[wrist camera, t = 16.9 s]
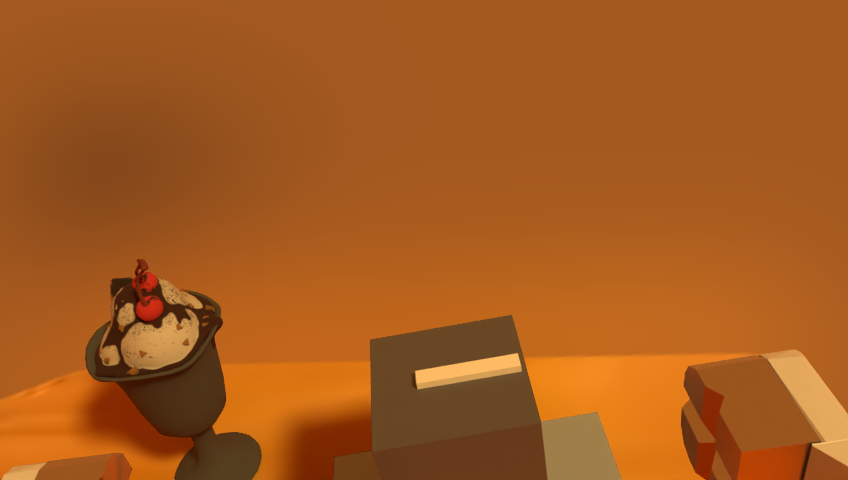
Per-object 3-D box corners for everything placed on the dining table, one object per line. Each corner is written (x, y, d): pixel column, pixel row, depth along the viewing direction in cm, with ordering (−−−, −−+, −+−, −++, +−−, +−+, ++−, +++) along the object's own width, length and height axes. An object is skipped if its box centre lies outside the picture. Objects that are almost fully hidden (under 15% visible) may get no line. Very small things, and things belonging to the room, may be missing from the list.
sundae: (264, 513, 39) (162, 287, 31) (143, 523, 39) (11, 305, 31) (287, 417, 44) (206, 204, 36) (180, 427, 45) (77, 221, 37)
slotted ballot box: (419, 608, 31) (370, 446, 26) (411, 491, 36) (368, 334, 31) (559, 585, 31) (540, 417, 26) (532, 471, 36) (511, 309, 31)
